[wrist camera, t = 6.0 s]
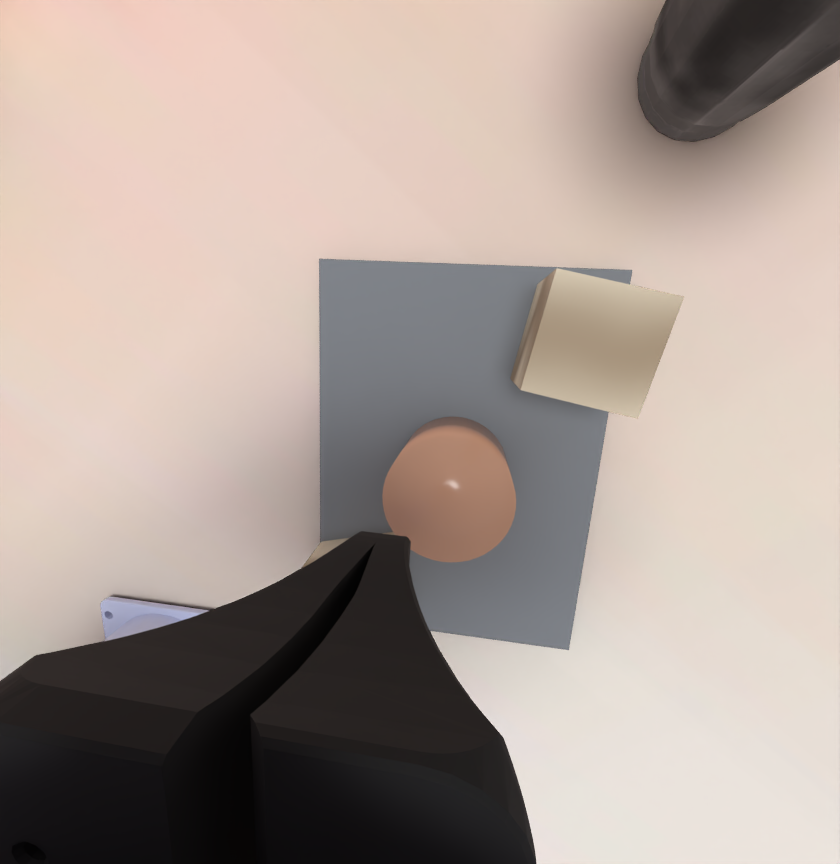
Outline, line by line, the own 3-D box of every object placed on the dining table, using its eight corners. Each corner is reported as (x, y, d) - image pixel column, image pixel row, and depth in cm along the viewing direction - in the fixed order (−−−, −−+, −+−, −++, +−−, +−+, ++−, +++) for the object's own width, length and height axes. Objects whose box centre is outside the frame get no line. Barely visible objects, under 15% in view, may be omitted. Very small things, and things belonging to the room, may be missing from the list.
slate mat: (566, 641, 21) (568, 650, 20) (324, 608, 22) (320, 615, 22) (626, 272, 17) (632, 270, 16) (324, 261, 18) (319, 258, 18)
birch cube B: (601, 400, 17) (637, 419, 13) (510, 378, 18) (520, 389, 14) (634, 306, 16) (684, 296, 12) (537, 284, 17) (557, 268, 13)
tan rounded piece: (501, 523, 19) (508, 570, 15) (398, 512, 20) (380, 554, 16) (513, 421, 18) (523, 443, 14) (403, 412, 19) (385, 431, 15)
